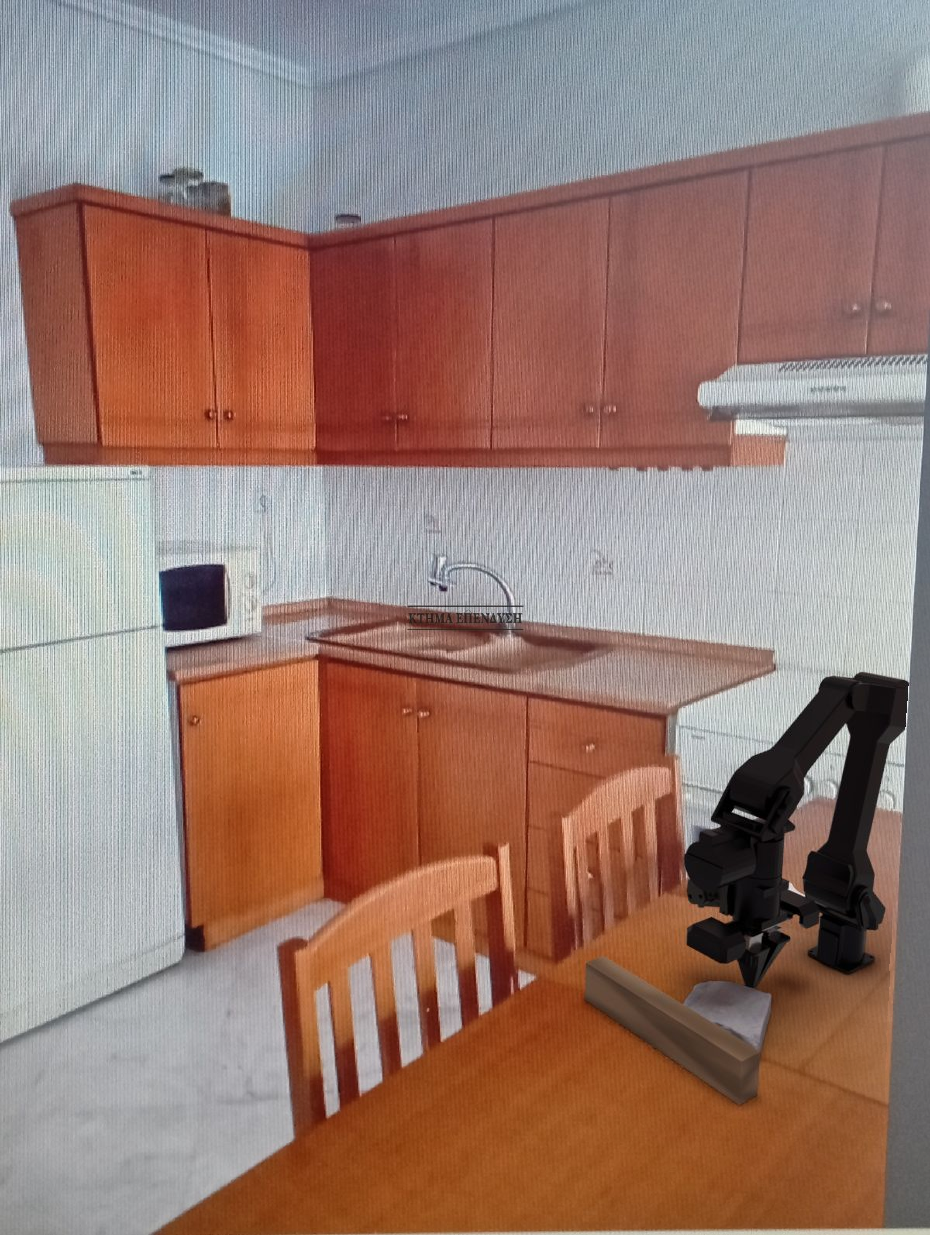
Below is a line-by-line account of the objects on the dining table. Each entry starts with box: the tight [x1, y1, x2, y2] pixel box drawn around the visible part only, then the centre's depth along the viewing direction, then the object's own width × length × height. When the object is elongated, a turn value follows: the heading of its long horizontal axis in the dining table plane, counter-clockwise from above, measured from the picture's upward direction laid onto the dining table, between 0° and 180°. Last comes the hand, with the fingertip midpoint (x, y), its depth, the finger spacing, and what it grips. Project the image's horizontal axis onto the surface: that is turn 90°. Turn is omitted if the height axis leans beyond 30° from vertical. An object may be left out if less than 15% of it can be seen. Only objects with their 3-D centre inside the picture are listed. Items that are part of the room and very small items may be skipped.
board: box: [584, 955, 761, 1106], centre depth 109 cm, size 3×24×5 cm, turn 35°
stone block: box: [682, 980, 772, 1053], centre depth 112 cm, size 12×5×10 cm
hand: (750, 987), depth 118 cm, fingers closed
